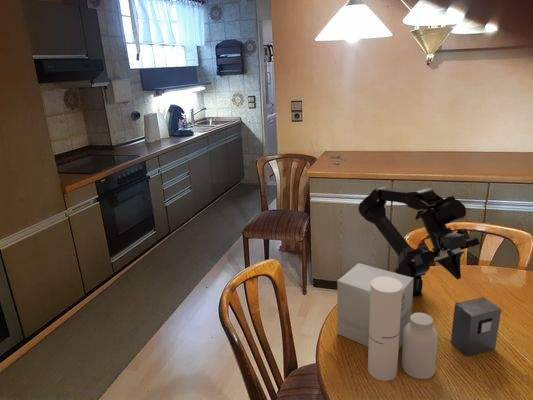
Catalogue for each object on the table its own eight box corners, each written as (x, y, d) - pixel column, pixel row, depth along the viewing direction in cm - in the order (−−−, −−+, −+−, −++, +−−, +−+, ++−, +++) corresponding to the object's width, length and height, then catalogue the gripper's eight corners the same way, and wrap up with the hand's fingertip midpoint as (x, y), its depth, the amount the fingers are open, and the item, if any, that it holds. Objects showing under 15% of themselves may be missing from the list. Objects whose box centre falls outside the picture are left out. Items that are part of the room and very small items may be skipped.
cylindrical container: (398, 382, 96) (404, 293, 88) (368, 379, 98) (371, 291, 90) (395, 361, 103) (400, 277, 95) (367, 359, 104) (369, 275, 96)
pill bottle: (407, 353, 106) (411, 305, 101) (439, 366, 101) (444, 316, 96) (396, 371, 100) (399, 321, 95) (428, 385, 95) (433, 333, 90)
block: (450, 342, 109) (455, 303, 105) (478, 335, 111) (483, 297, 107) (466, 356, 103) (471, 316, 99) (495, 349, 105) (501, 309, 101)
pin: (454, 319, 109) (456, 303, 107) (470, 315, 110) (472, 299, 108) (476, 337, 101) (478, 320, 100) (493, 333, 102) (496, 316, 101)
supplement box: (411, 332, 114) (415, 277, 108) (393, 359, 104) (396, 299, 98) (357, 312, 124) (358, 261, 119) (335, 334, 115) (335, 280, 109)
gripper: (420, 232, 109) (444, 287, 105) (478, 212, 112) (504, 265, 108) (404, 239, 120) (425, 289, 116) (458, 221, 122) (480, 270, 118)
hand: (459, 278), depth 114 cm, fingers closed
